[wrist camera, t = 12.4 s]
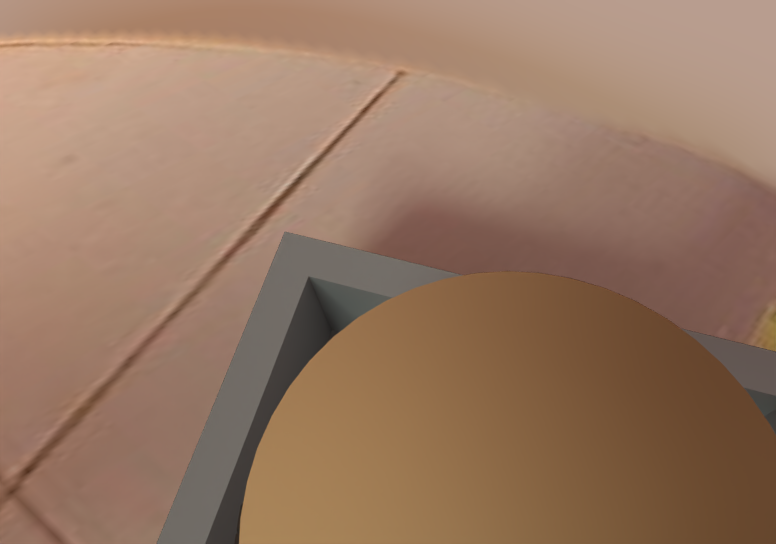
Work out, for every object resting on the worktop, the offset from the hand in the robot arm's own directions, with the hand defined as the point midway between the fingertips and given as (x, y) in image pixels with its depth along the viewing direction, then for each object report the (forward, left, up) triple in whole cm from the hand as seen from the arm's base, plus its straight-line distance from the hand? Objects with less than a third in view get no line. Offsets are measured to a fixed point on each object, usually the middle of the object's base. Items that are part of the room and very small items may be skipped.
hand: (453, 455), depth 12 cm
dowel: (+1, -2, -5) cm, 6 cm away
